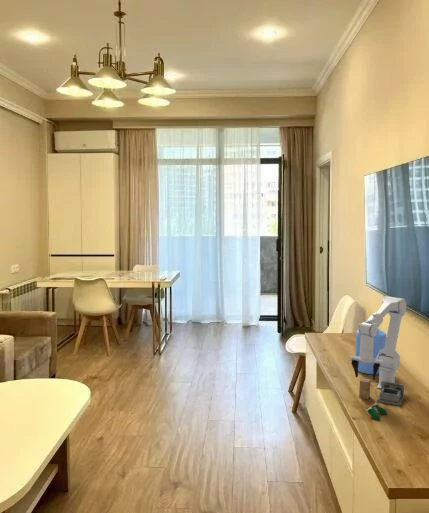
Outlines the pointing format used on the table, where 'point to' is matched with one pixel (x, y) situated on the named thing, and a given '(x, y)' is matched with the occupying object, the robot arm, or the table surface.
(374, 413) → the gaming controller
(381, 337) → the water jug
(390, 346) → the robot arm
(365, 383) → the brown rectangular block
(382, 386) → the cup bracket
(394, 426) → the table surface
